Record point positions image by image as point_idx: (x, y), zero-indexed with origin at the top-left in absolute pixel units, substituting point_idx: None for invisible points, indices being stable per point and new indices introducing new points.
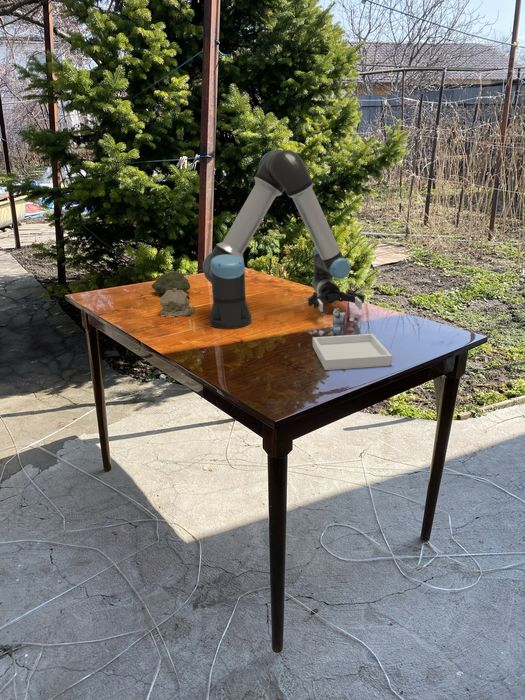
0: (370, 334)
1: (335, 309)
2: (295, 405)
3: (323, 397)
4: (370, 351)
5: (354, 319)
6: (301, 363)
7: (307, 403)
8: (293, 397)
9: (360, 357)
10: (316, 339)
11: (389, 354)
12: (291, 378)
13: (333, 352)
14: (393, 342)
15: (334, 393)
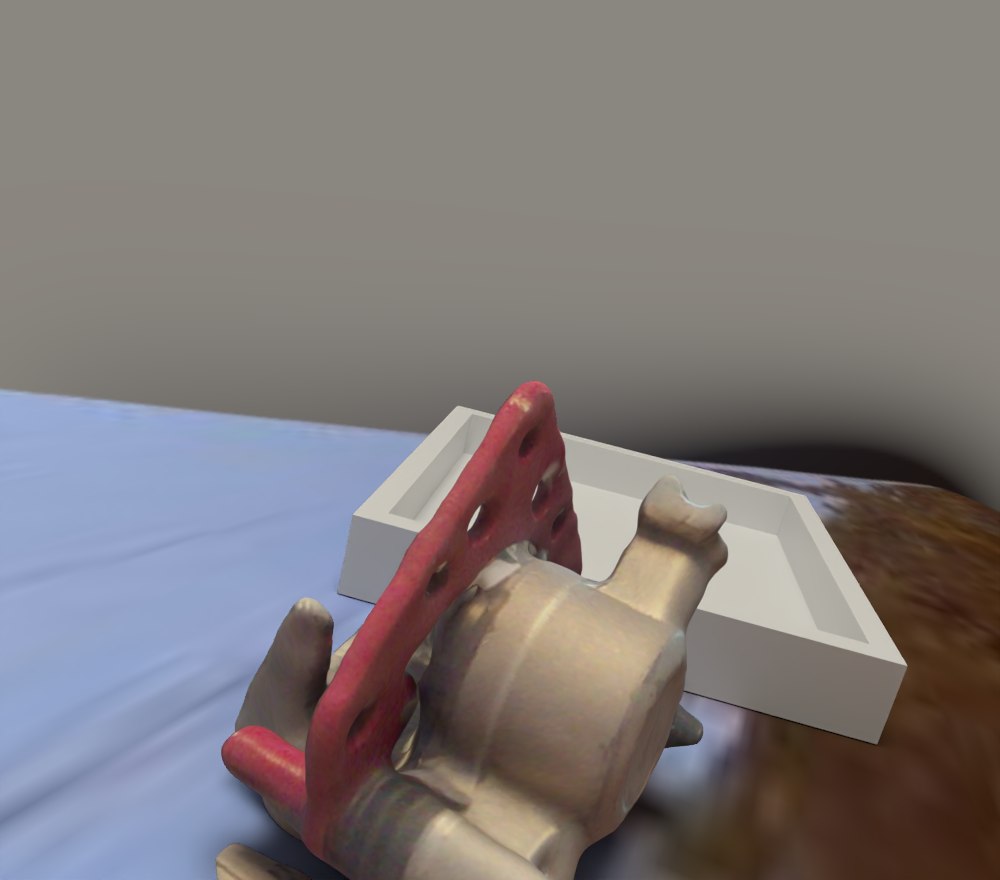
0: (381, 514)
1: (701, 509)
2: (900, 495)
3: (805, 481)
4: (476, 514)
5: (330, 657)
6: (929, 625)
7: (860, 487)
8: (915, 513)
9: (618, 448)
10: (867, 632)
11: (461, 411)
12: (953, 571)
13: (721, 590)
14: (174, 536)
15: (764, 476)
